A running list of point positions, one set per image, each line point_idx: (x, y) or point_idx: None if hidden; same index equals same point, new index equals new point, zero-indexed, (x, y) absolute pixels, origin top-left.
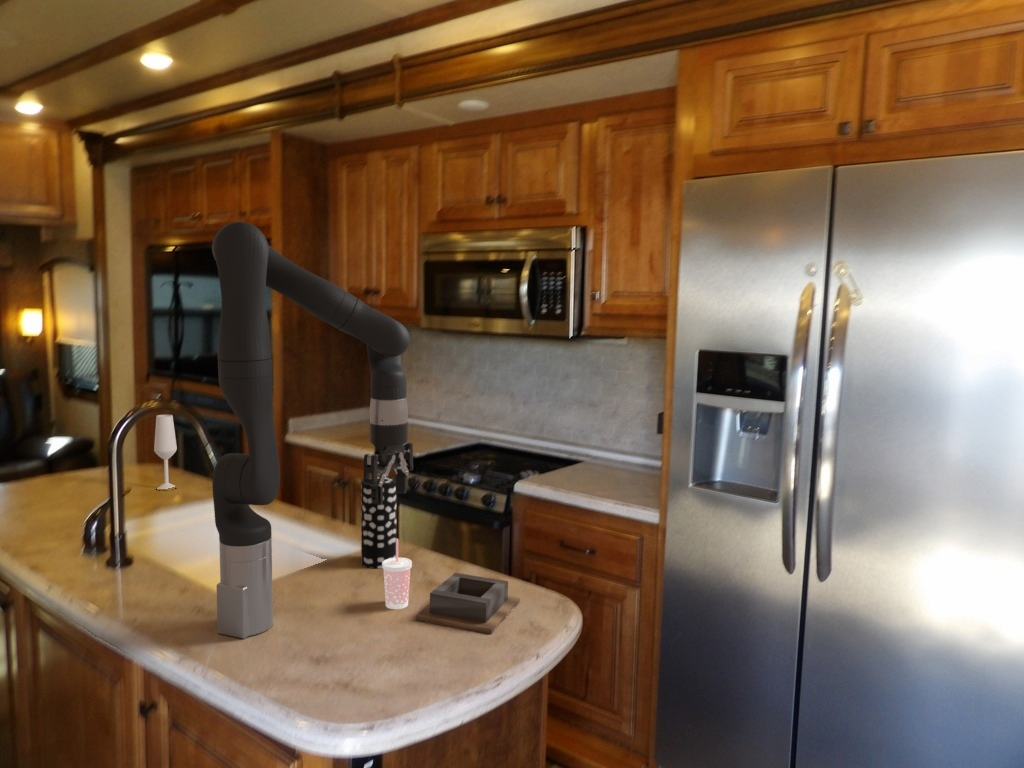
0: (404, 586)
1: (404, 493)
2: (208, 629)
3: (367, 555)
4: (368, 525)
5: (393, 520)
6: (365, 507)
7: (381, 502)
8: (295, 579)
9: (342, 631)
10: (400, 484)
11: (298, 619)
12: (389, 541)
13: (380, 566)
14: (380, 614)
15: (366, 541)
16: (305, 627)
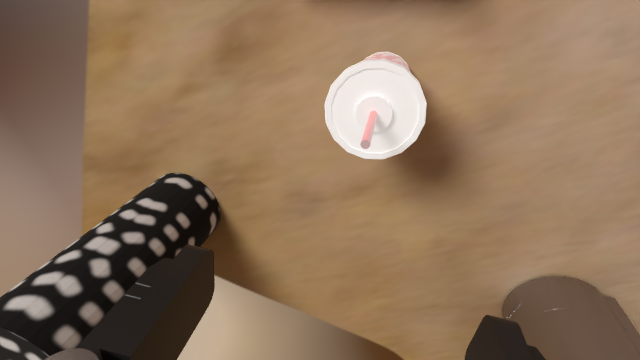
0: (400, 62)
1: (204, 248)
2: None
3: (207, 231)
4: None
5: (111, 234)
6: None
7: (514, 327)
8: (324, 306)
9: (562, 142)
10: (179, 320)
11: (505, 245)
12: (161, 208)
13: (210, 194)
14: (449, 96)
15: None
16: (545, 220)
